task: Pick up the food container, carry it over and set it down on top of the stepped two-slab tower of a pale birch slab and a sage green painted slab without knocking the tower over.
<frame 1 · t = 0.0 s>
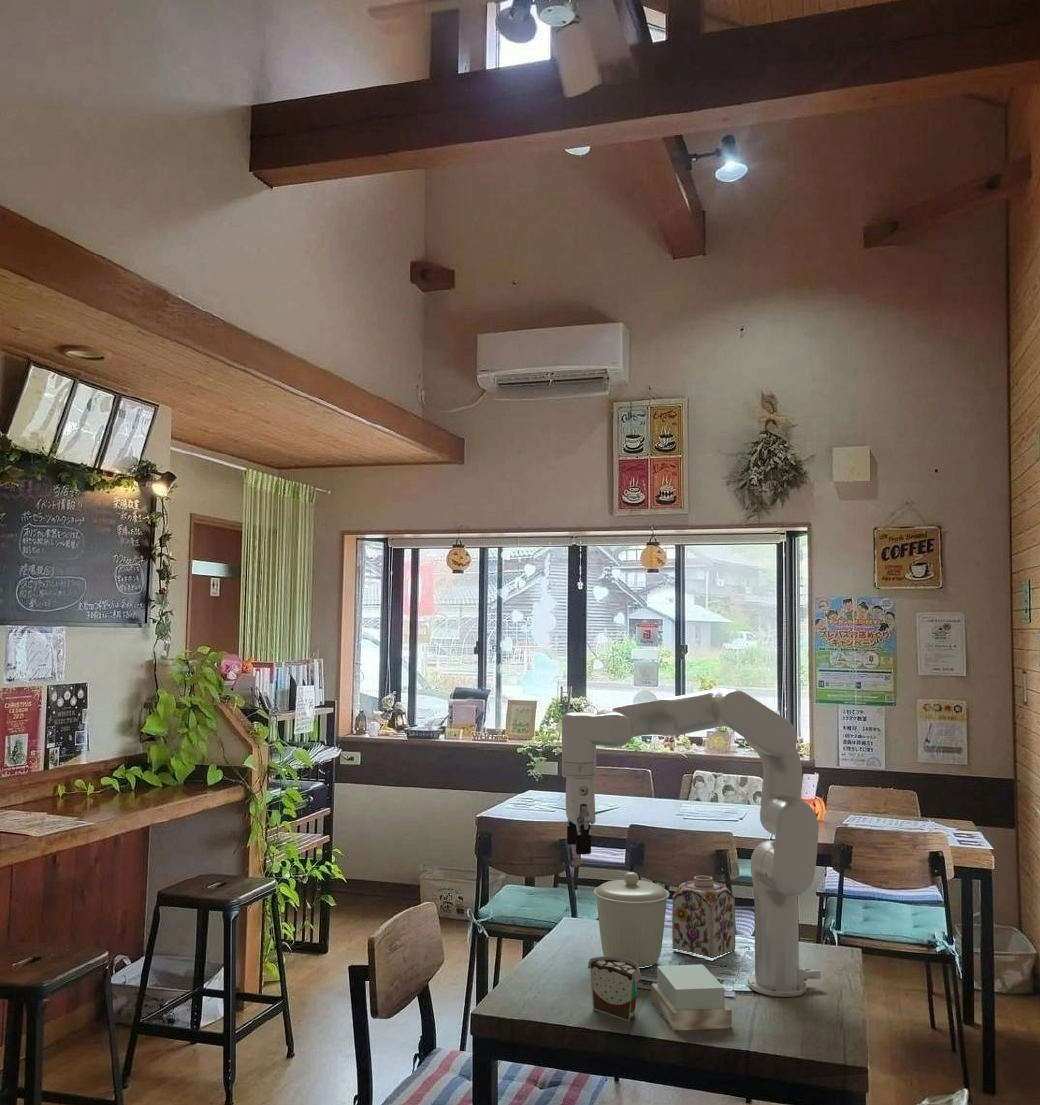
hand: (578, 849, 214), 31 cm above the table, tool pointing down, fingers open, 9 cm apart
upper slab: (689, 996, 203), point 3 cm above the table, touching lower slab
food container: (620, 1012, 204), on the table
decorative jar: (704, 952, 242), on the table
lower slab: (690, 1016, 203), on the table, touching upper slab
canister: (631, 963, 234), on the table
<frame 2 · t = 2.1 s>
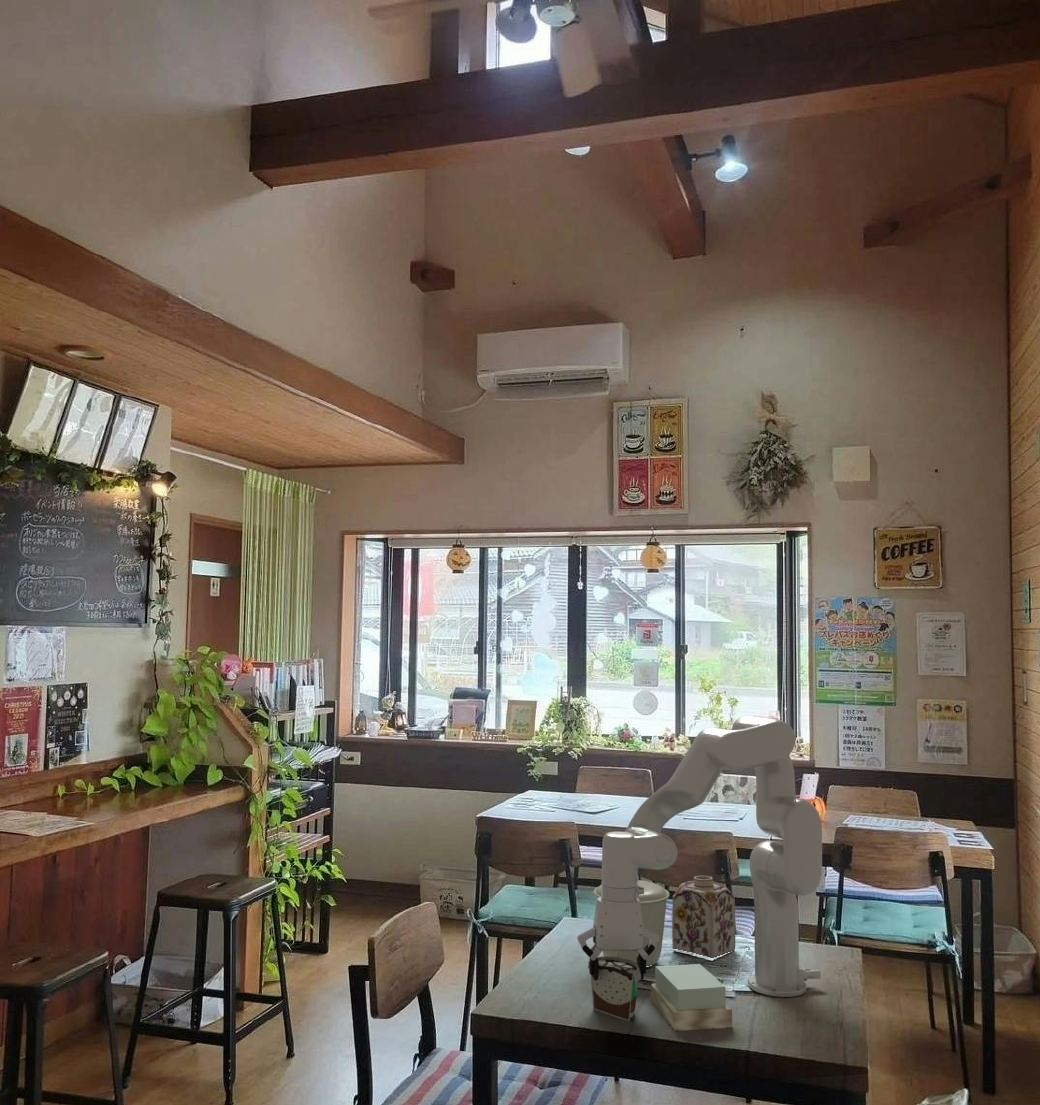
hand: (617, 977, 204), 7 cm above the table, tool pointing down, fingers open, 9 cm apart
food container: (620, 1012, 204), on the table, touching gripper
everything else where it was.
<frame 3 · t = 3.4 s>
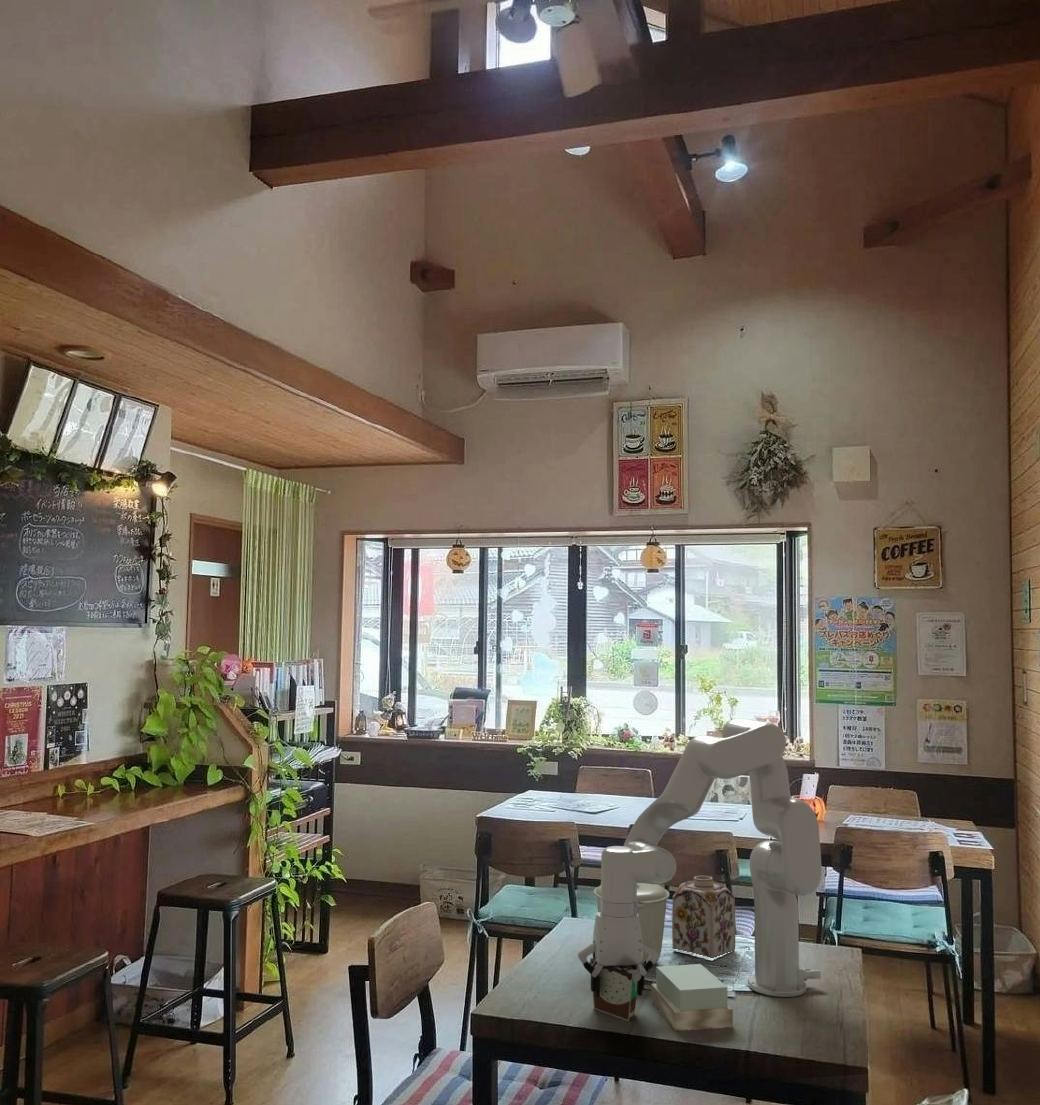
hand: (617, 994, 204), 4 cm above the table, tool pointing down, fingers closed on food container, 8 cm apart
upper slab: (690, 996, 203), point 3 cm above the table
food container: (620, 1012, 204), on the table, touching gripper
lower slab: (690, 1016, 203), on the table
everything else where it was.
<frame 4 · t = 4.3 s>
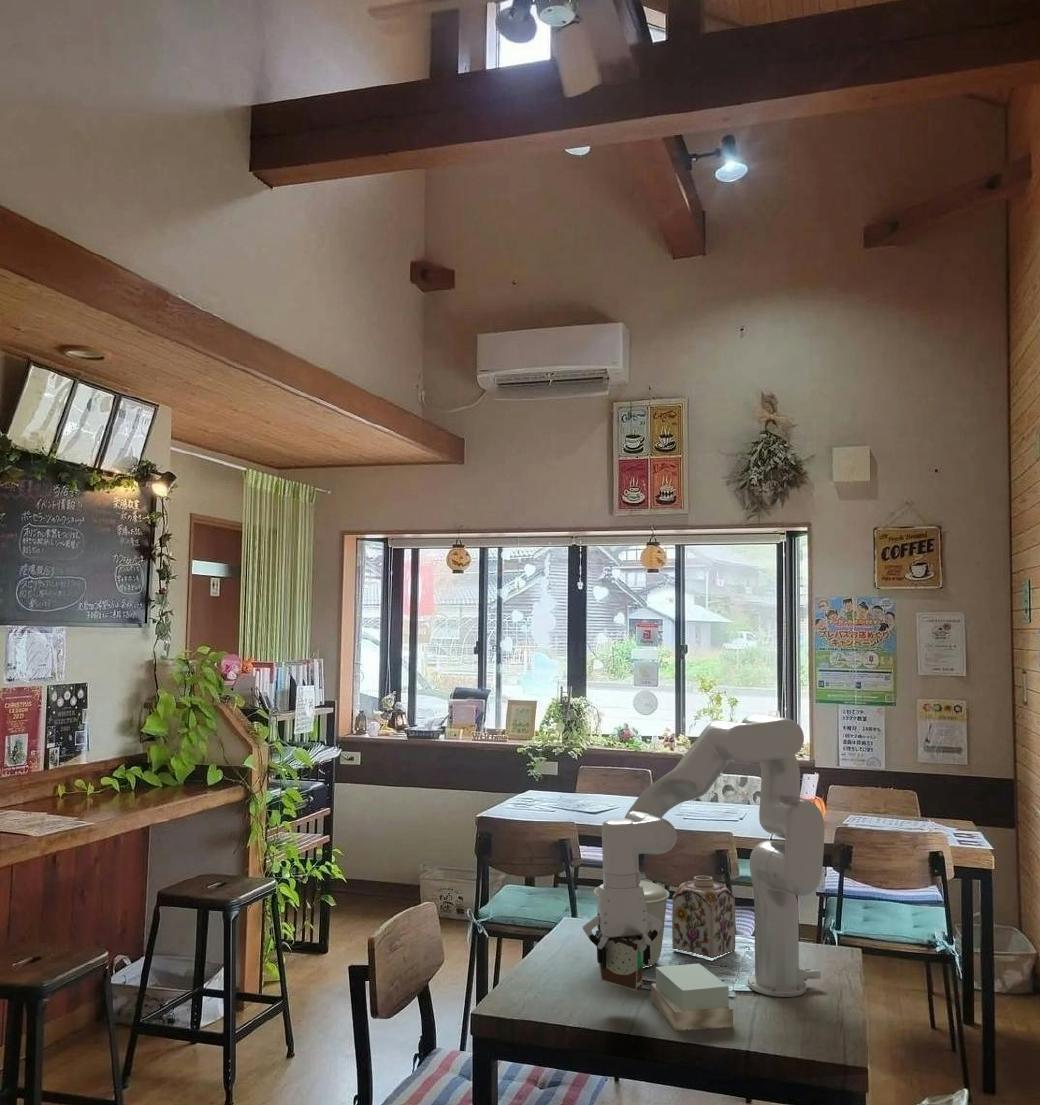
hand: (624, 964, 205), 9 cm above the table, tool pointing down, fingers closed on food container, 8 cm apart
upper slab: (691, 996, 203), point 3 cm above the table, touching lower slab
food container: (628, 982, 205), point 6 cm above the table, touching gripper
lower slab: (690, 1016, 203), on the table, touching upper slab
everything else where it was.
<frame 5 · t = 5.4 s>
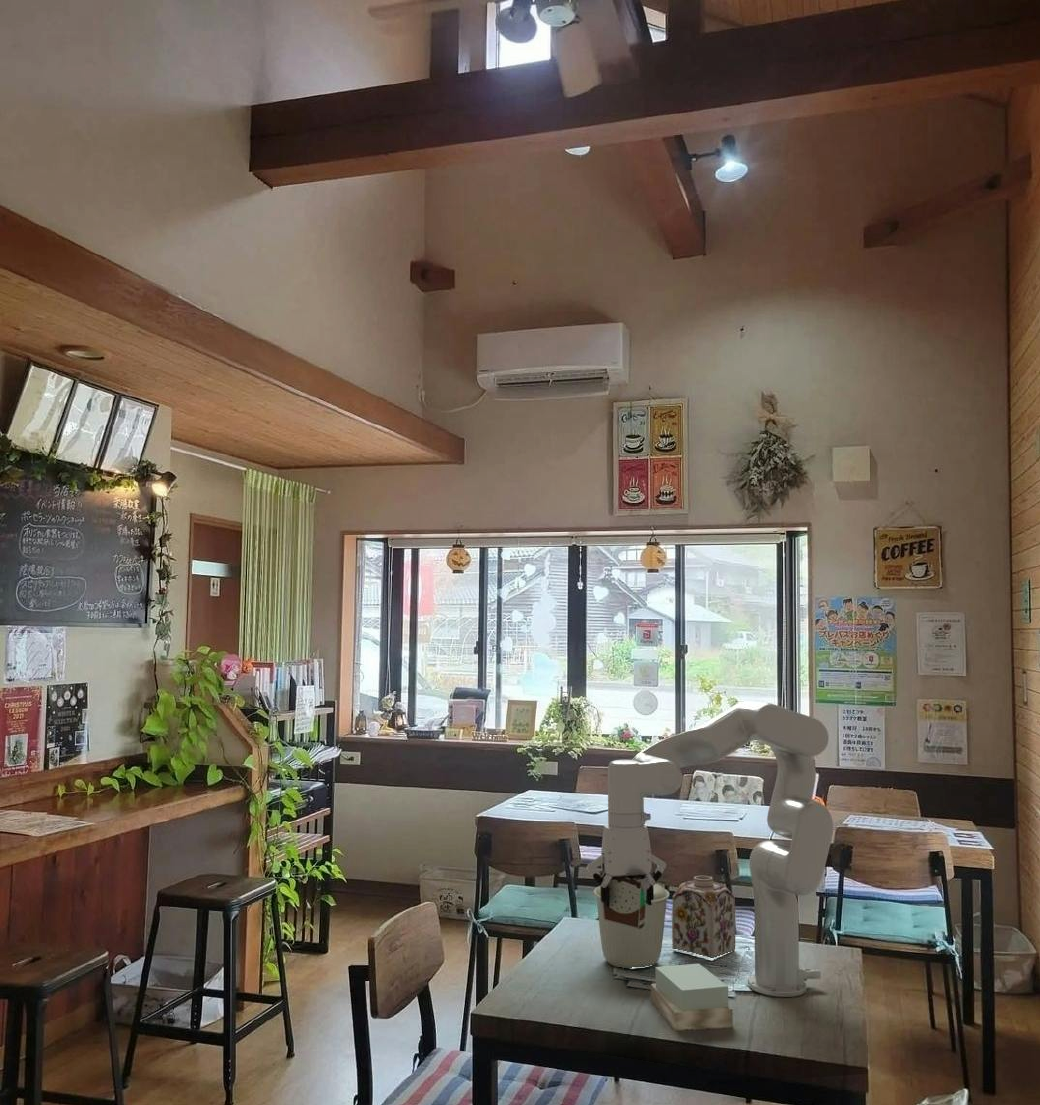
hand: (627, 904, 205), 22 cm above the table, tool pointing down, fingers closed on food container, 8 cm apart
food container: (630, 922, 205), point 18 cm above the table, touching gripper
everything else where it was.
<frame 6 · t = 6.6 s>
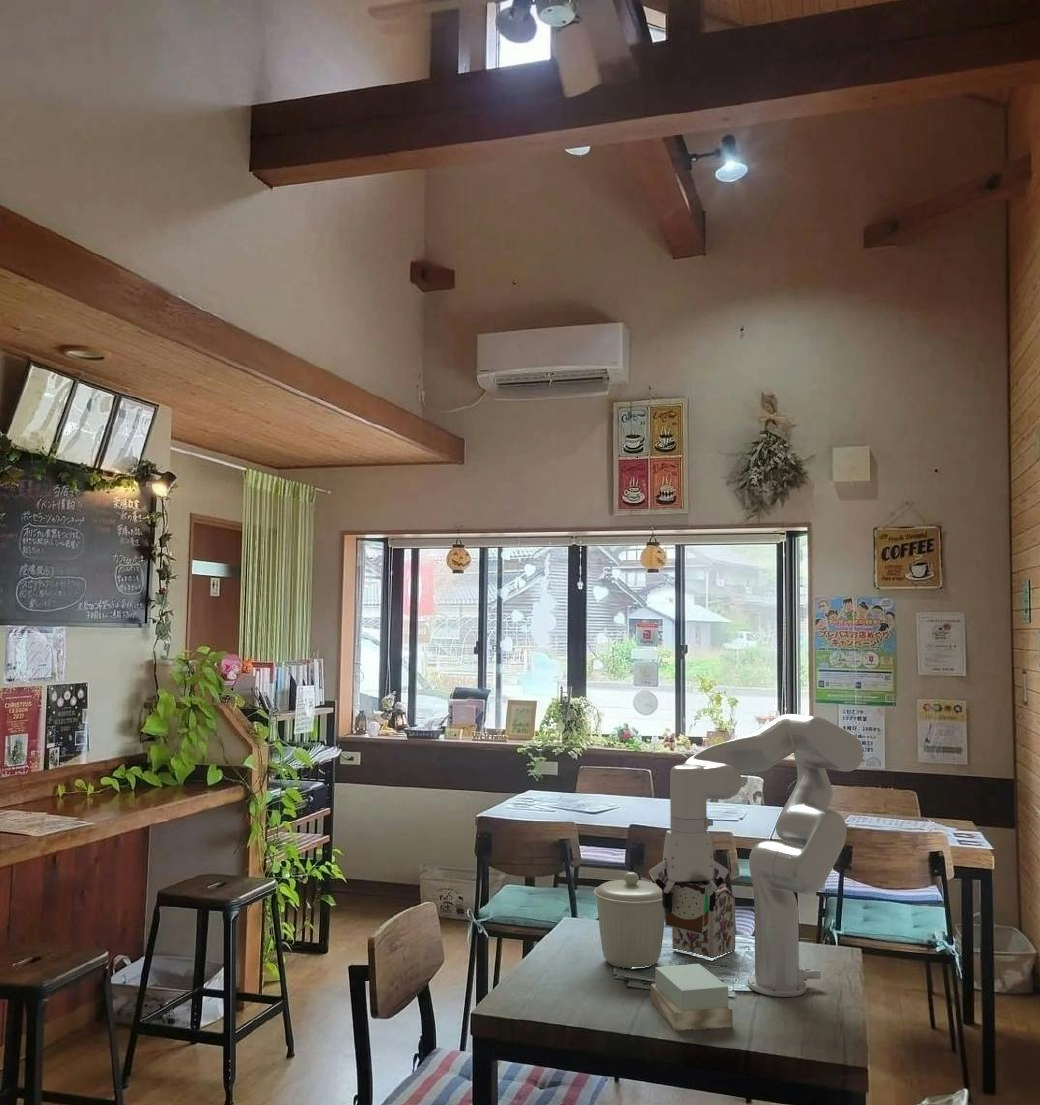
hand: (689, 910, 204), 21 cm above the table, tool pointing down, fingers closed on food container, 8 cm apart
food container: (692, 928, 204), point 17 cm above the table, touching gripper
everything else where it was.
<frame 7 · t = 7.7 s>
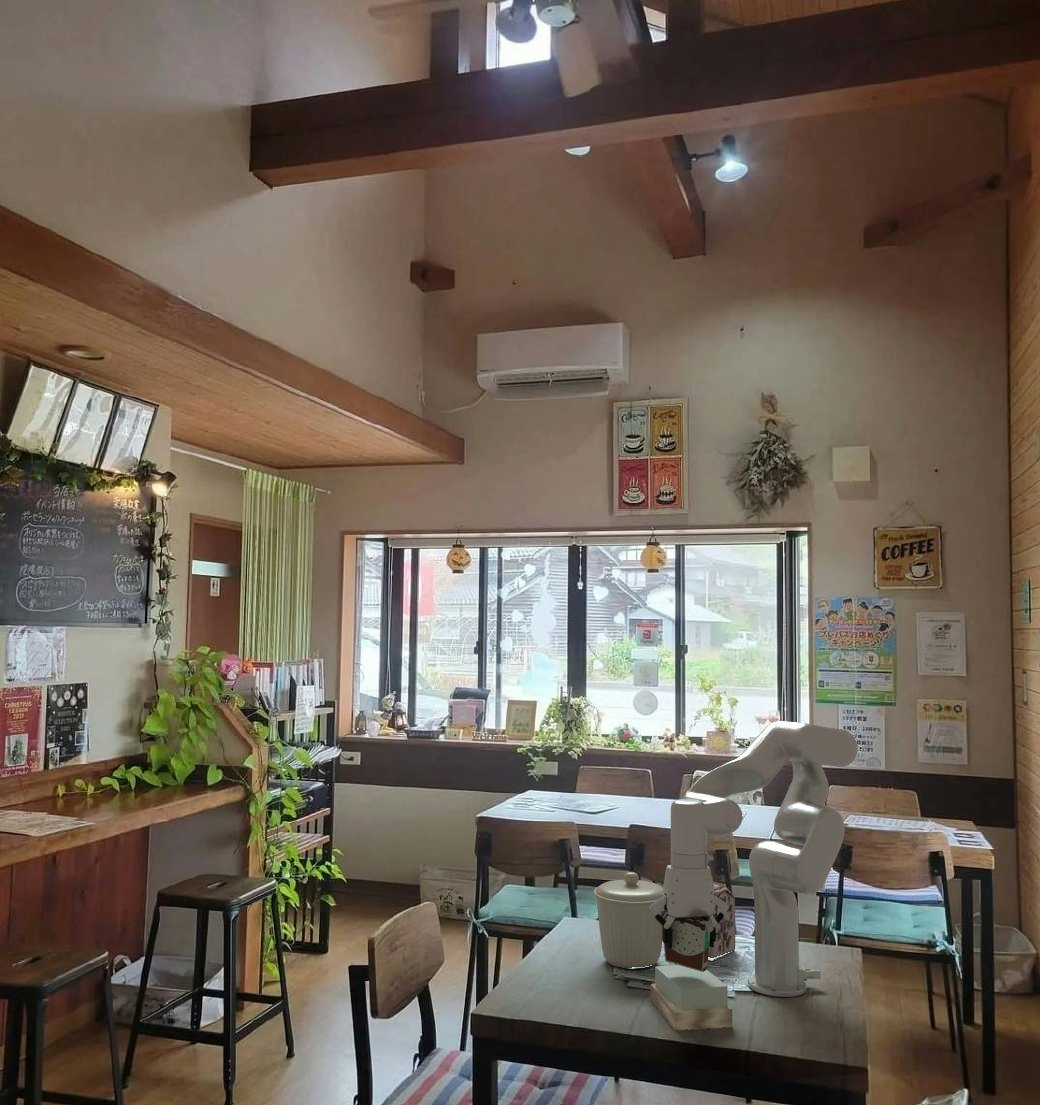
hand: (689, 945, 204), 14 cm above the table, tool pointing down, fingers closed on food container, 8 cm apart
food container: (692, 964, 204), point 10 cm above the table, touching gripper
everything else where it was.
when the fingers open (12 cm above the table, at t = 9.0 s): food container drops 2 cm, resting on upper slab.
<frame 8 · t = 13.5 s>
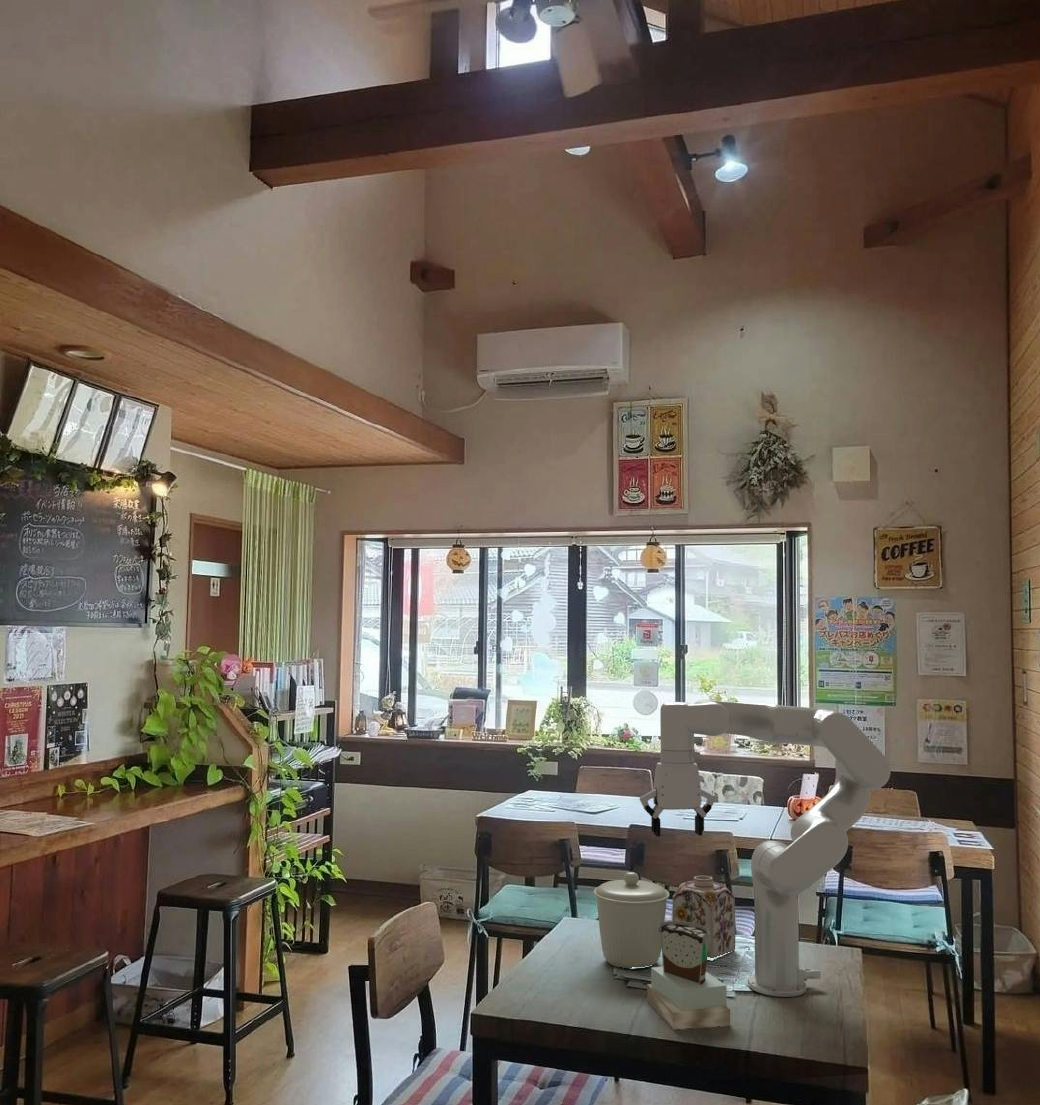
hand: (677, 835, 219), 33 cm above the table, tool pointing down, fingers open, 9 cm apart
upper slab: (688, 996, 203), point 3 cm above the table, touching food container, lower slab
food container: (690, 976, 204), point 7 cm above the table, touching upper slab
everything else where it was.
at the end: food container inside the target area (1.0 cm from its centre), point 7.0 cm above the table; upper slab inside the target area (0.4 cm from its centre), point 3.1 cm above the table; food container tilted 1° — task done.
